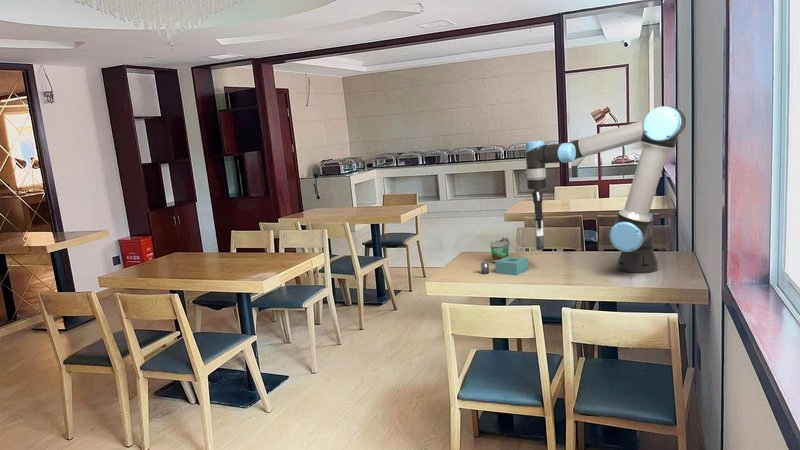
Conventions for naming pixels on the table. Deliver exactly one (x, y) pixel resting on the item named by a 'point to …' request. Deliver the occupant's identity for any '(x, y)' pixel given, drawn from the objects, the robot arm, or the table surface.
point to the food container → (499, 249)
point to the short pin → (484, 268)
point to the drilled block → (511, 265)
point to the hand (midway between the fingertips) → (539, 234)
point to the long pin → (539, 239)
